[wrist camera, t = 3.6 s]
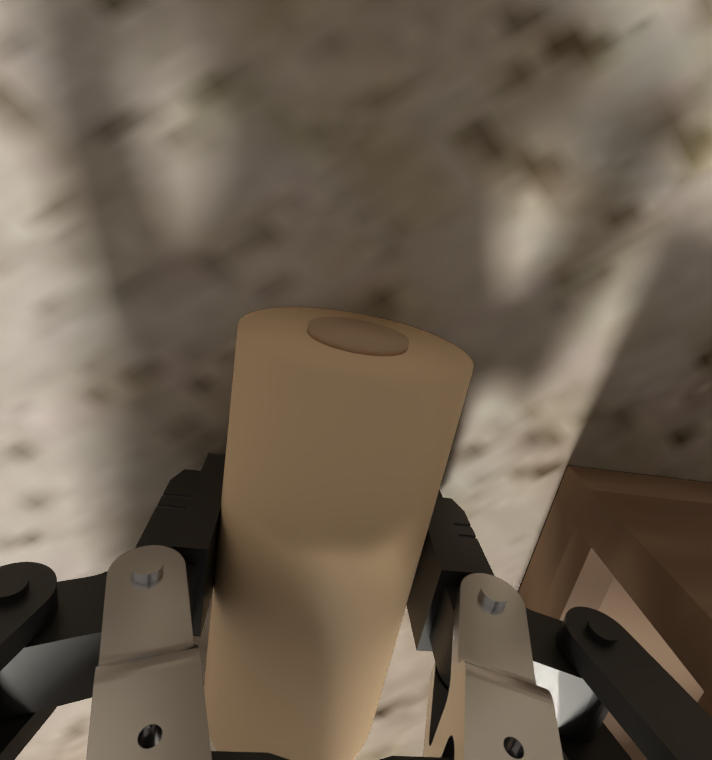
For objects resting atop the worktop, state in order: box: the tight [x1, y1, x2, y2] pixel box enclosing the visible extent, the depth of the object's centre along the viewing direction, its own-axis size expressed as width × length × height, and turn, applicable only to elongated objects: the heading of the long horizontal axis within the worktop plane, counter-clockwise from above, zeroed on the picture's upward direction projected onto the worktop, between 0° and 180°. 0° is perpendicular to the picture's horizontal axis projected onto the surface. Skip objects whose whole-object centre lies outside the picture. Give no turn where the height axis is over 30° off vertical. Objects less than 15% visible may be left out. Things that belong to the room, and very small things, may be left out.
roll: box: [204, 307, 474, 760], centre depth 11 cm, size 10×5×5 cm, turn 170°
